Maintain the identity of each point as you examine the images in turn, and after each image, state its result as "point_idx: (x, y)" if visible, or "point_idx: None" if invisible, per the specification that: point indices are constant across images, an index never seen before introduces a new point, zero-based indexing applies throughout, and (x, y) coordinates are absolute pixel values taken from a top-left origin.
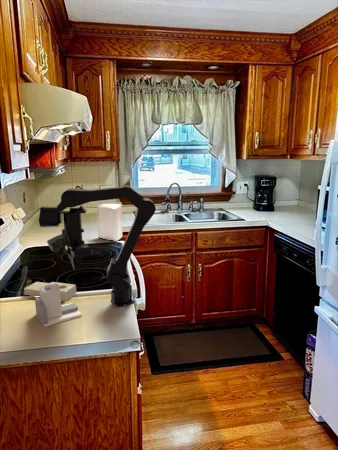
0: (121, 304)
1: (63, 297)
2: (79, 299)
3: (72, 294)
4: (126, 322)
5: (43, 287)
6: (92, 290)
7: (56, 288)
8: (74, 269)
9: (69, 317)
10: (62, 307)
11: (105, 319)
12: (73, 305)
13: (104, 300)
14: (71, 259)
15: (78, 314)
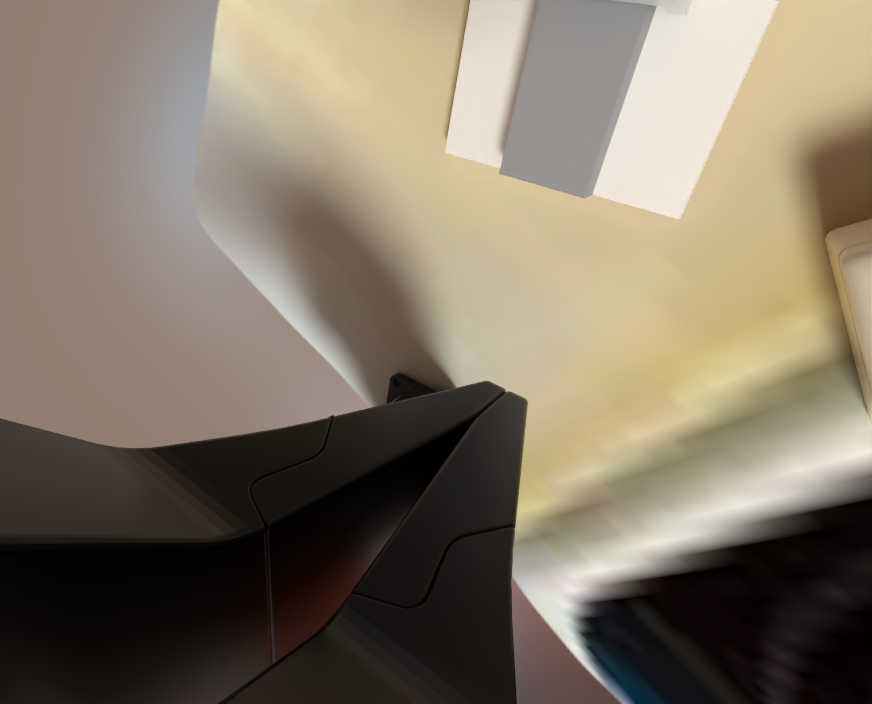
0: (393, 394)
1: (867, 229)
2: (714, 336)
3: (855, 359)
4: (271, 271)
5: None
6: (758, 519)
7: None
8: (475, 384)
9: (464, 44)
10: (602, 53)
11: (338, 228)
12: (549, 162)
13: None
14: (403, 519)
15: (452, 129)
